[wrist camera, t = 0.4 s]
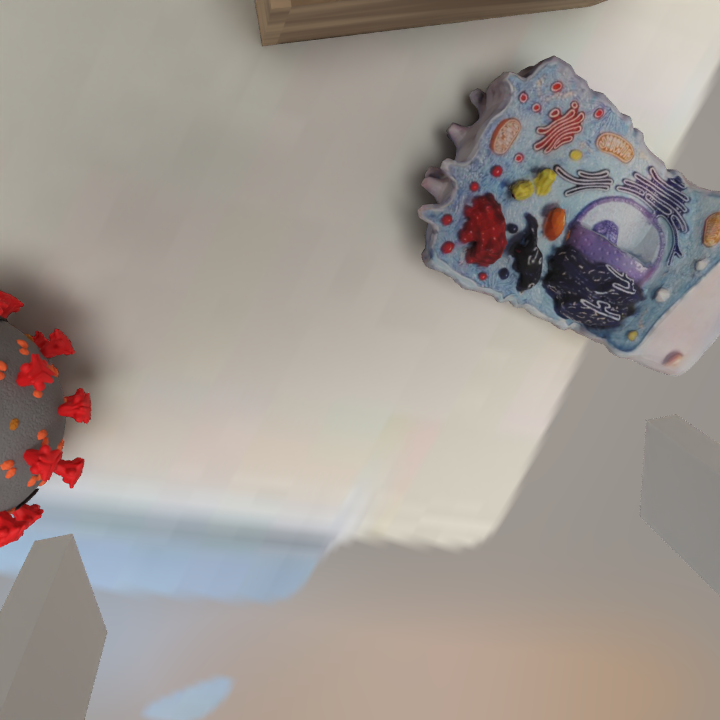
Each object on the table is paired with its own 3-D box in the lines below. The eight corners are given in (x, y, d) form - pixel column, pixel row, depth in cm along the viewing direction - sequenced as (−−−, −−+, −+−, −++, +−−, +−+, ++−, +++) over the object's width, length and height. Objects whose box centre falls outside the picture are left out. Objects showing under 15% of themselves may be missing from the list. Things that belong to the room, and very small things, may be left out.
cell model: (707, 413, 36) (412, 273, 31) (610, 352, 46) (375, 238, 41) (848, 207, 33) (548, 9, 28) (711, 189, 43) (471, 41, 38)
